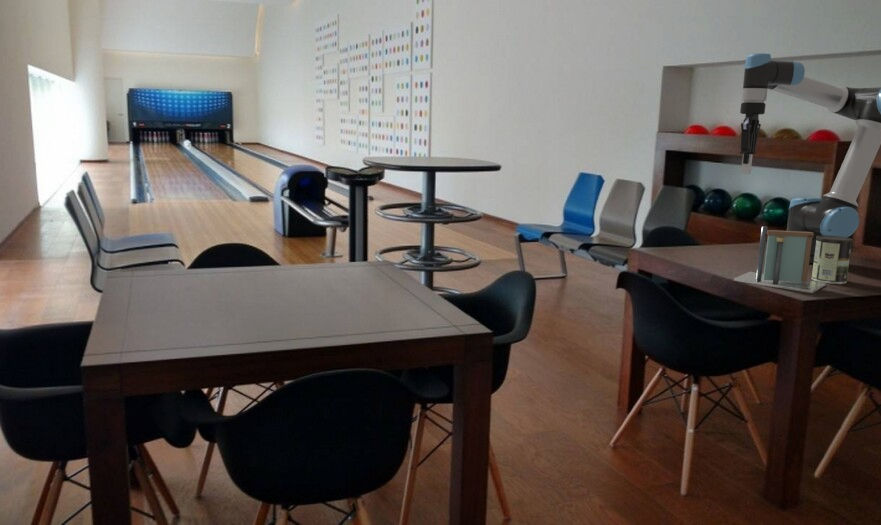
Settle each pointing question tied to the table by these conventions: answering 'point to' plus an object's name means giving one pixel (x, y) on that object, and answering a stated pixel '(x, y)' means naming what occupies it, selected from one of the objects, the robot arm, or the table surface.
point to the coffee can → (831, 259)
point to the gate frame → (776, 271)
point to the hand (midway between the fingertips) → (745, 173)
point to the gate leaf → (788, 255)
